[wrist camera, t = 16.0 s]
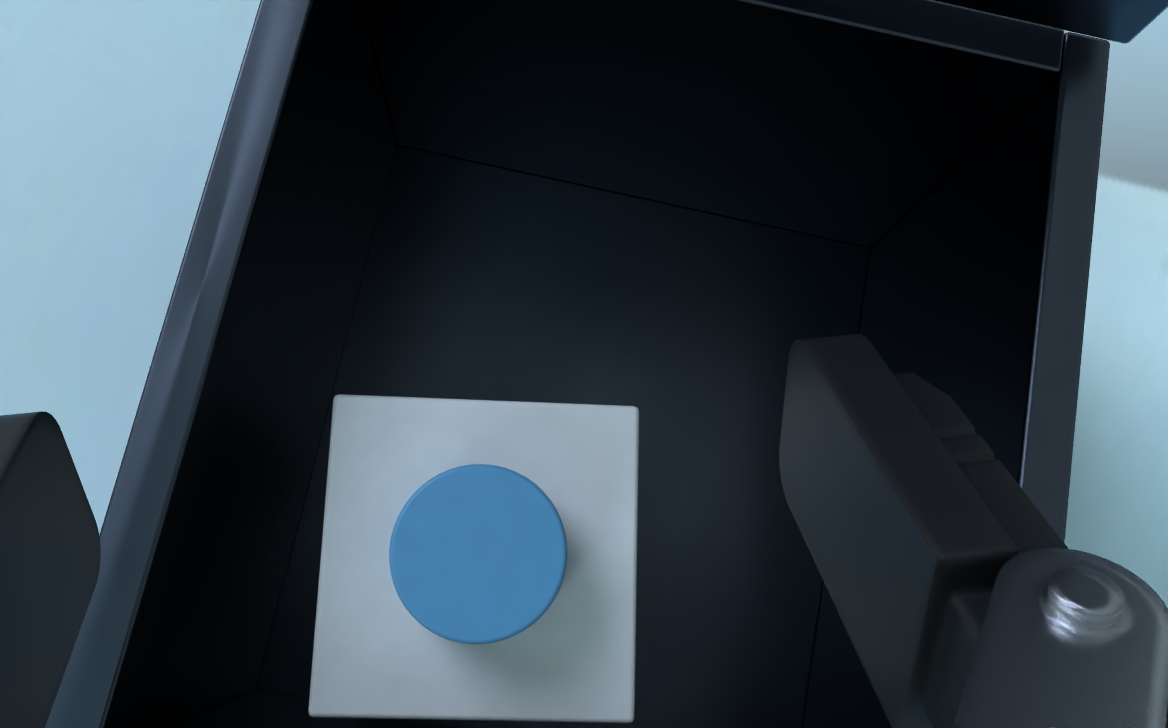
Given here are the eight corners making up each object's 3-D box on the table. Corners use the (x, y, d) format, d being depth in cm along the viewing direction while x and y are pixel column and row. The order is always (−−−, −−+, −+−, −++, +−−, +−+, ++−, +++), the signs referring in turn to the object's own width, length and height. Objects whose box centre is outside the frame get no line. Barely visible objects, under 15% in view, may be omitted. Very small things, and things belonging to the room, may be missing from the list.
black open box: (811, 831, 23) (1025, 1002, 14) (219, 714, 23) (15, 806, 13) (893, 235, 27) (1112, 39, 17) (376, 122, 26) (302, -144, 17)
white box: (367, 676, 23) (289, 729, 14) (383, 450, 24) (318, 377, 15) (594, 681, 23) (646, 735, 15) (600, 458, 24) (651, 390, 16)
